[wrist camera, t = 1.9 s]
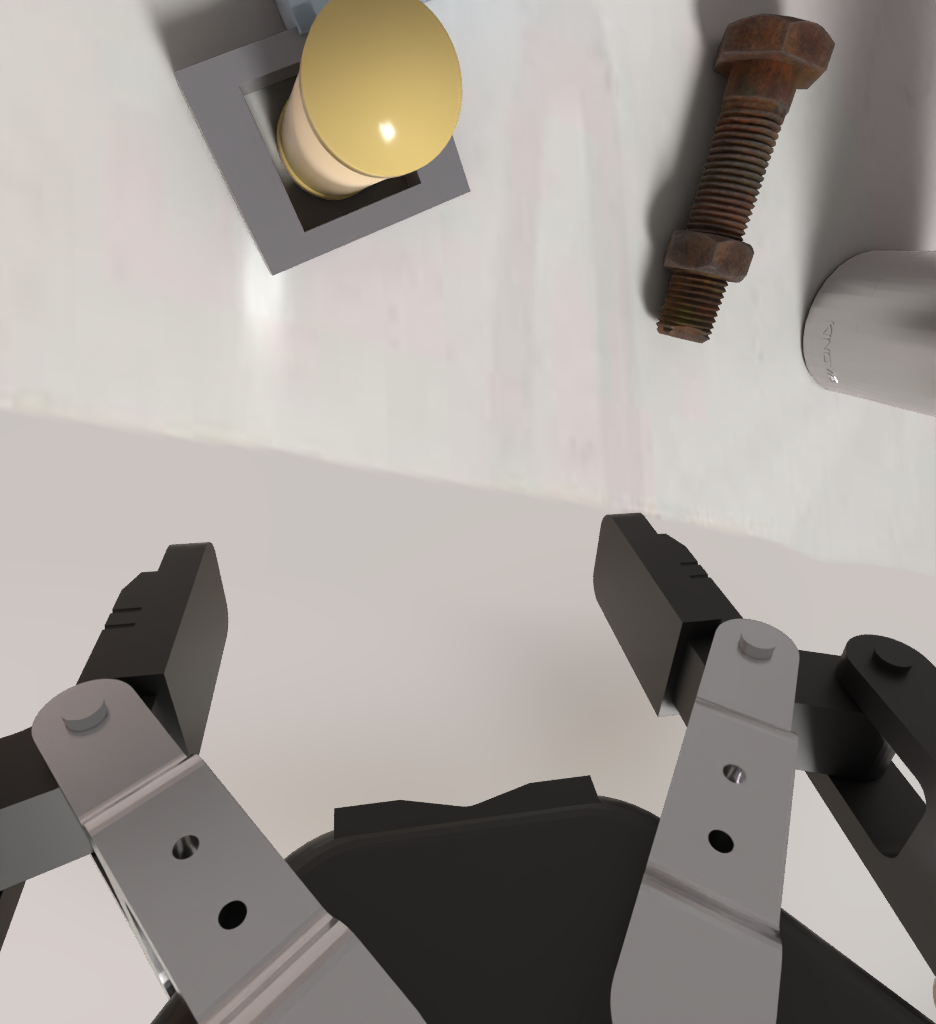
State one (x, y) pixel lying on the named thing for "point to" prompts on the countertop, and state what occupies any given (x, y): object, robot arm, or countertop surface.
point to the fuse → (369, 97)
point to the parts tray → (301, 13)
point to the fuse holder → (252, 171)
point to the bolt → (737, 162)
